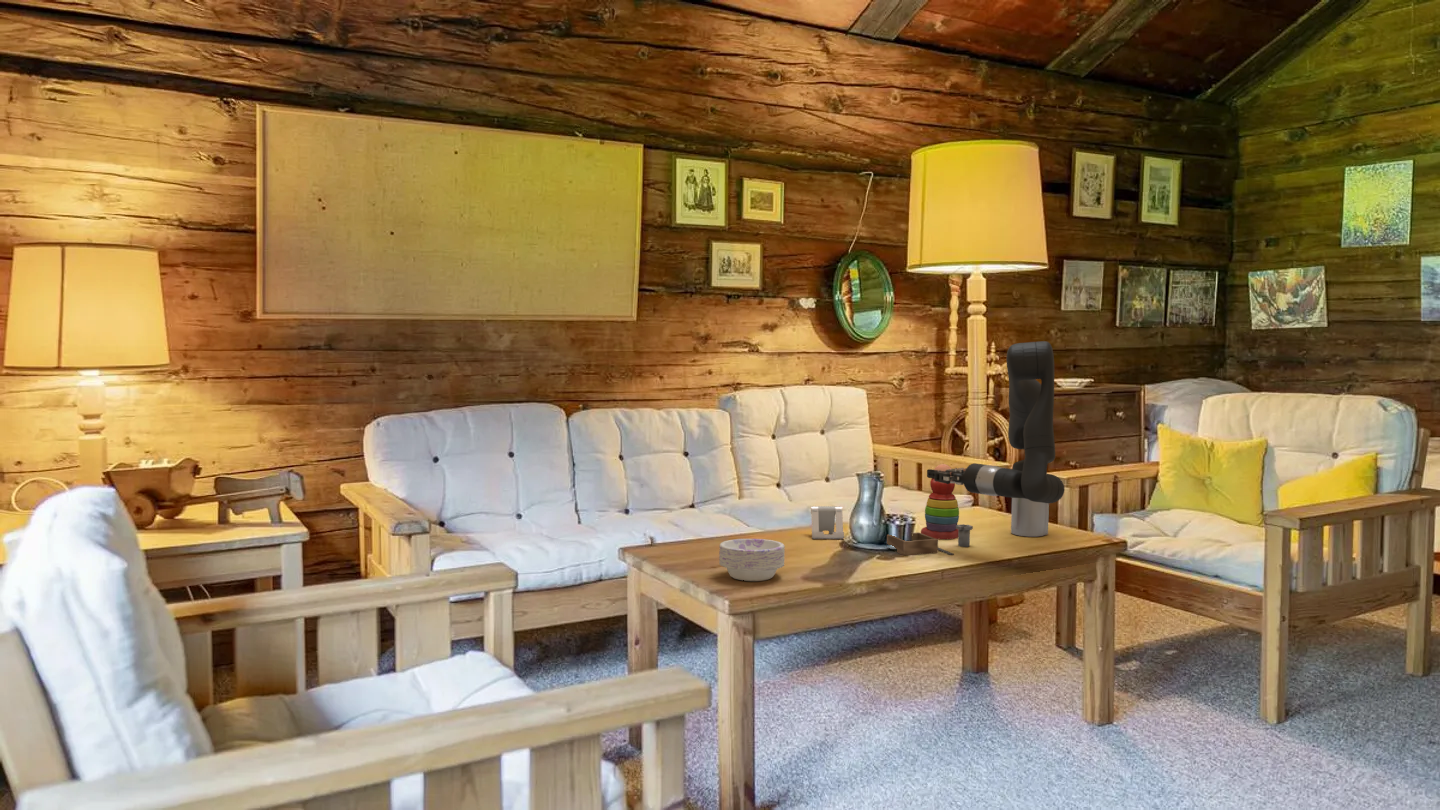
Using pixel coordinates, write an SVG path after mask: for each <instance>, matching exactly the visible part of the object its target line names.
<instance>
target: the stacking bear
mask: <svg viewBox="0 0 1440 810" xmlns="http://www.w3.org/2000/svg"><path fill="white" fill-rule="evenodd" d="M951 481H952V480H951ZM929 482H930V484H929V485H930V489H931V491H932V492H931V493H930V494H928V498H927V501H926V504H925V508H924V518H925V519H924V520H925V524H926V526H924V527H922V528H921V529H920V533H922V534H925V535H927V536H930V537H933V538H935V539H938V540H945V541H946V540H955V539H958V529H956V525H958V523H959V520H960V507H959V504H958V499H956V495H954V494H953V492H954V490H955V488H956V487H955V486H956V484H955V483H950V484H946V483H940V482H937V481H934V479H933V478H930V481H929Z"/></svg>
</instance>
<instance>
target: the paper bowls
mask: <svg viewBox="0 0 1440 810" xmlns="http://www.w3.org/2000/svg"><path fill="white" fill-rule="evenodd" d="M785 547H786V546H785V544H784V543H783V542H780V541H778V540H772V539H764V538H737V539H736V538H735V539H730V540H724V541H722V542H720V543H719V554H718V555H719V557H718V558H719V562H718V563H719V565H720V567H724V568H726V569H727V573H728V574H729V576H730V577H731V578H733V579H735V580H737V581H738V580H739V581H743V580H744V581H743V582H763V581H767V580H770V579H772V578H773V577H774V576H775V575H776V573H777V570H778V569H780V568H783V567H784V566H785V552H786V551H785V550H786V548H785Z"/></svg>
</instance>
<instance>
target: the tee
mask: <svg viewBox="0 0 1440 810" xmlns="http://www.w3.org/2000/svg"><path fill="white" fill-rule="evenodd" d="M973 528H974V526H973V525H970V524H957V525H956V529H958V538H957V546H958V547H961V548H969V547H970V546H971V545H970V542H971V531H973V530H974V529H973Z"/></svg>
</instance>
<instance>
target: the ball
mask: <svg viewBox="0 0 1440 810" xmlns="http://www.w3.org/2000/svg"><path fill="white" fill-rule="evenodd" d="M947 469H952V468H951V466H950V465H948V464H945V463H940V464H938V465H937V466H935V467H934V468H933V470H941V471H946V470H947ZM951 473H952V472H950V476H951ZM940 483H942V482H940Z"/></svg>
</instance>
